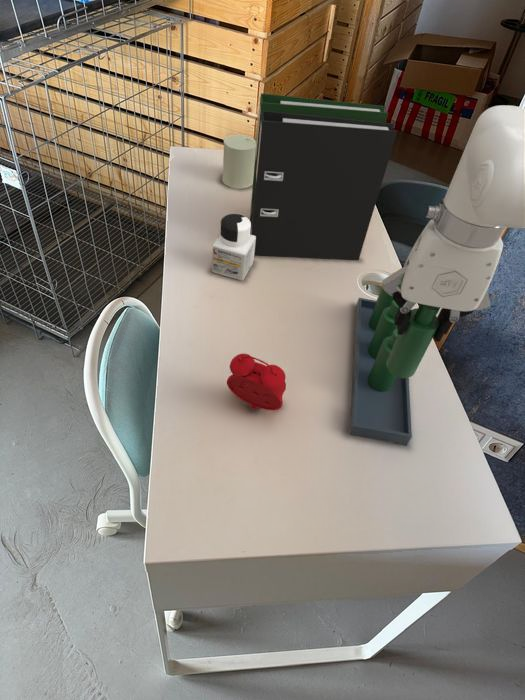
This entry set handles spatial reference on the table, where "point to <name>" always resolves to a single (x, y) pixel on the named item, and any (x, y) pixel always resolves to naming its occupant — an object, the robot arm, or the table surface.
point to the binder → (317, 176)
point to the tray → (370, 405)
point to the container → (234, 247)
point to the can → (238, 161)
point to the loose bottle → (413, 341)
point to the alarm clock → (257, 382)
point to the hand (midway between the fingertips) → (418, 330)
